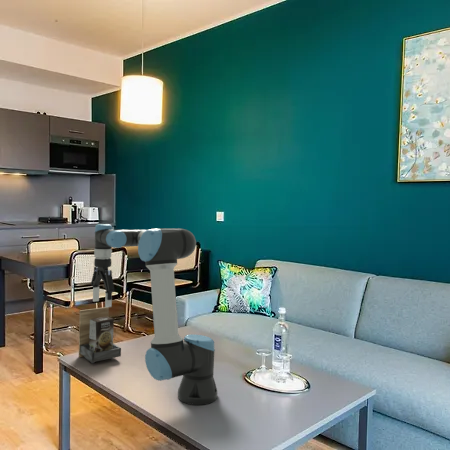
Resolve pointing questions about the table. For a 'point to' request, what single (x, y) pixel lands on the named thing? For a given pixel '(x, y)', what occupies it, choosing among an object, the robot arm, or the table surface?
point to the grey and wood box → (84, 336)
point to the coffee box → (101, 334)
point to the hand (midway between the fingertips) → (101, 304)
